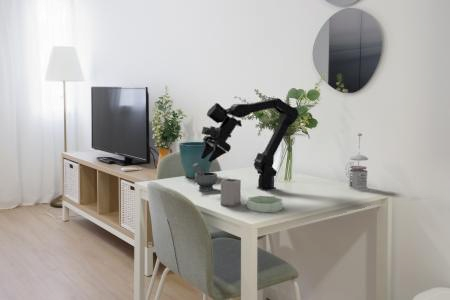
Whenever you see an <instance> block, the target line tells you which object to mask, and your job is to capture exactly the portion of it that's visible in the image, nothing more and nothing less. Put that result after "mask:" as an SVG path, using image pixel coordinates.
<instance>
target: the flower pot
mask: <svg viewBox="0 0 450 300" xmlns="http://www.w3.org/2000/svg"><path fill="white" fill-rule="evenodd" d="M178 146H179V147H178V149H179V156H180V158H179V159H180V162H181V165H182V167H183V168H182V169H183V171H184V176H185V177H187V178H190V179H191V178H193V179H195V174H196V171H195V169H194V168H193V165H194V164H196V163H198V164H199V167H200V169H201V170H202V172H210V169H211V166H212V162H213V161H212V162H209V161H208V160H209V158H210V156H211V154H212V152H211V153H210V154H209V155H208V156H207V157H205V158H204V159H202V158H201V156H202V153H203V150H204V142H203V141H185V142H183V141H182V142H179V143H178Z"/></svg>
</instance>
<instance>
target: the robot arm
mask: <svg viewBox="0 0 450 300" xmlns="http://www.w3.org/2000/svg"><path fill="white" fill-rule="evenodd" d="M270 109H275V111H276V112H277V113H278V114H279V115H278V124H277V126H276V127H275V129H274V131H273V134H272V135H271V137H270V139H269V141H268V143H267V145H266V147H265V148H264V150H263V151H262V153H260V152H257V154H256V157H255V158H254V159H253V161H254V163H253V167H254V169H255V170H256V172H257V174H258V183H257V184H258V185H257V186H256V188H257V189H259V190H263V191H271V190H276V189H277V187H275V177H276V176H277V173H278V172H277V170H276V169H275V168H274V167H273V166H274V163H275V158H274V157H275V154H276V153H277V151H278V148H279V147H280V146H281V145H280V144H281V142H282V141H283V138H284V137H285V135H286V133H287V131H288V129H289V127H291V126H292V125H293V124H294V123H295V122H296V120H297V119H298V118H299V115H300V113H299V110H298V109H297V108H296V107H293V106H292V105H290V104H288V103H286V102H284V100H282V99H281V98H279V97H278V98H277V97H273V98H271V99H270V98H269V99H266V100H262V101H255V102H251V103H235V104H231V106H230V107H228V108H224V107H223V106H221V104H220V103H218V102H215V103H214V105H213V106H211V107H210V108H209V109H208V111H207V114H206V116H207V117H209V119H211V120H212V121H214V122H215V123H217V124H220V125H219V127H215V126H209V127H207V126H202V130H201V135H204V137H203V138H202V142H204V150H203V153H202V156H201V158H202V159H204V158H205V157H207V156H208V155H209V154H210V153H211V152H212V154H211V156H210V158H209V160H208V161H209V162H213V161H215V160H216V159H218V158H219V157H222V155H225V154H227V153H229V152H230V151H231V148H232V147H231V144H229V143H228V142H227V140H228V139H229V138H232V135H231V134H232V133H233V131H234V130H235V128H236V127H242V120H241V119H242V118H245V117H247V116H249V115H251V114H253V113H257V112H260V111H261V112H262V111H266V110H270ZM237 118H239V119H237ZM240 118H241V119H240Z"/></svg>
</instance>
